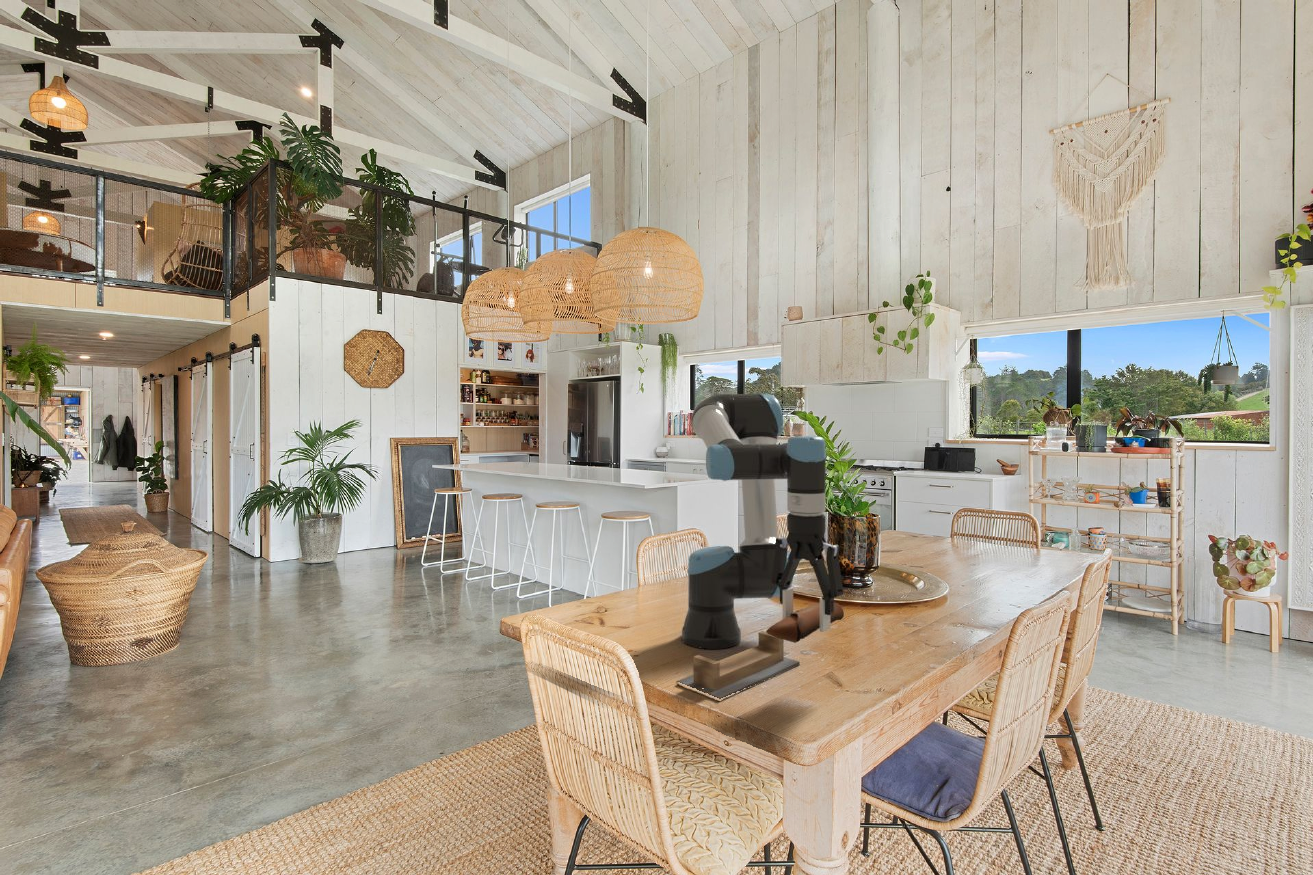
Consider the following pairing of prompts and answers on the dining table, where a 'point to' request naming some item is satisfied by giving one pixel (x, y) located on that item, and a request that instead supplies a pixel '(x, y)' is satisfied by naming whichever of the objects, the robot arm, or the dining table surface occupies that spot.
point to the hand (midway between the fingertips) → (806, 624)
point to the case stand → (740, 668)
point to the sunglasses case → (802, 623)
